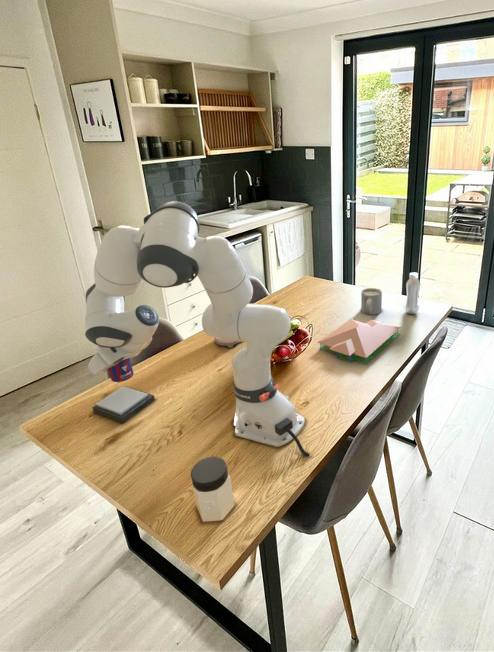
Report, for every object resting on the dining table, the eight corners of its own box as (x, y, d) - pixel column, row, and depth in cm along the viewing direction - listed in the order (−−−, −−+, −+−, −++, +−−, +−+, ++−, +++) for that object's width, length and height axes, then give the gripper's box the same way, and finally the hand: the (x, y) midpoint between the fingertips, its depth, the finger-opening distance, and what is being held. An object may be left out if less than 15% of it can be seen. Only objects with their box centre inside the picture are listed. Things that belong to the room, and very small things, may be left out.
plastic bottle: (403, 309, 197) (405, 271, 189) (417, 309, 196) (420, 271, 188) (404, 315, 191) (406, 275, 184) (419, 315, 190) (421, 276, 183)
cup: (117, 384, 125) (112, 366, 122) (102, 374, 131) (97, 356, 128) (137, 375, 130) (133, 356, 127) (122, 365, 136) (117, 348, 133)
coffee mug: (366, 304, 204) (366, 286, 201) (384, 308, 200) (384, 289, 196) (355, 314, 194) (355, 295, 190) (374, 318, 189) (374, 299, 185)
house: (313, 352, 162) (312, 334, 159) (355, 322, 186) (355, 306, 183) (362, 368, 149) (362, 349, 146) (400, 334, 174) (401, 317, 171)
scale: (155, 400, 136) (153, 393, 135) (123, 423, 125) (121, 416, 124) (126, 390, 142) (124, 383, 141) (93, 412, 131) (91, 405, 130)
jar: (193, 523, 92) (184, 485, 87) (200, 494, 99) (193, 457, 94) (232, 520, 92) (225, 482, 87) (236, 491, 100) (231, 455, 95)
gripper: (149, 321, 129) (134, 342, 137) (92, 349, 113) (79, 371, 120) (161, 335, 129) (146, 355, 137) (106, 366, 112) (92, 387, 120)
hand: (114, 363), depth 129 cm, fingers closed on cup, 6 cm apart
